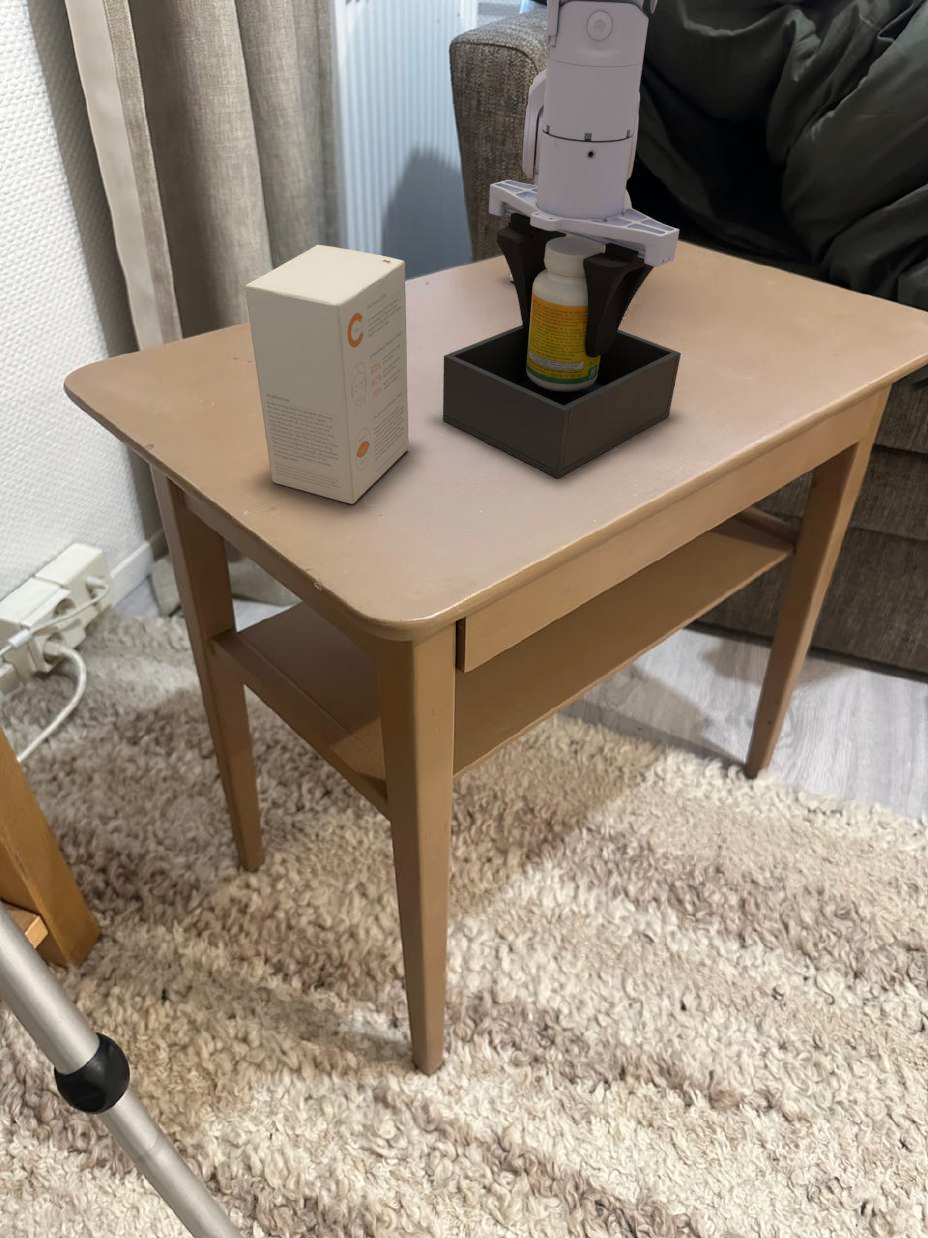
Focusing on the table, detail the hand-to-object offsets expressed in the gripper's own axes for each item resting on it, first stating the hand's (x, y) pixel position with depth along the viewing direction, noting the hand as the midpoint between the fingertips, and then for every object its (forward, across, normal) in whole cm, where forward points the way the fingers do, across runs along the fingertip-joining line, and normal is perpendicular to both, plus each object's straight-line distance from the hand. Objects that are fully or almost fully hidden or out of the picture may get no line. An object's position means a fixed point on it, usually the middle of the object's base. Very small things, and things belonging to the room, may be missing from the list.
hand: (565, 339), depth 65 cm
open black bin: (+5, +2, -2) cm, 6 cm away
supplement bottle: (+3, 0, 0) cm, 3 cm away
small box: (+5, -4, -18) cm, 19 cm away
